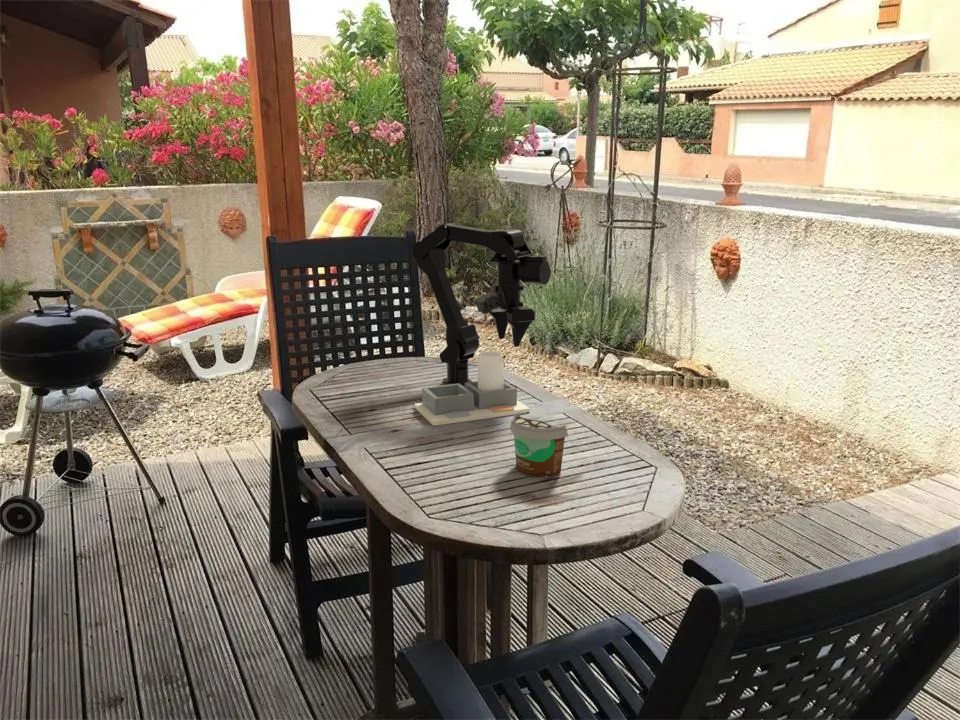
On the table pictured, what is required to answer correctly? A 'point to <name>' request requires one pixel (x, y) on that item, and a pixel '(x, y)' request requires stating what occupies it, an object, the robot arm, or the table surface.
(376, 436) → the table surface
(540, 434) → the food container
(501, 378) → the beverage can
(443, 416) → the socket board
